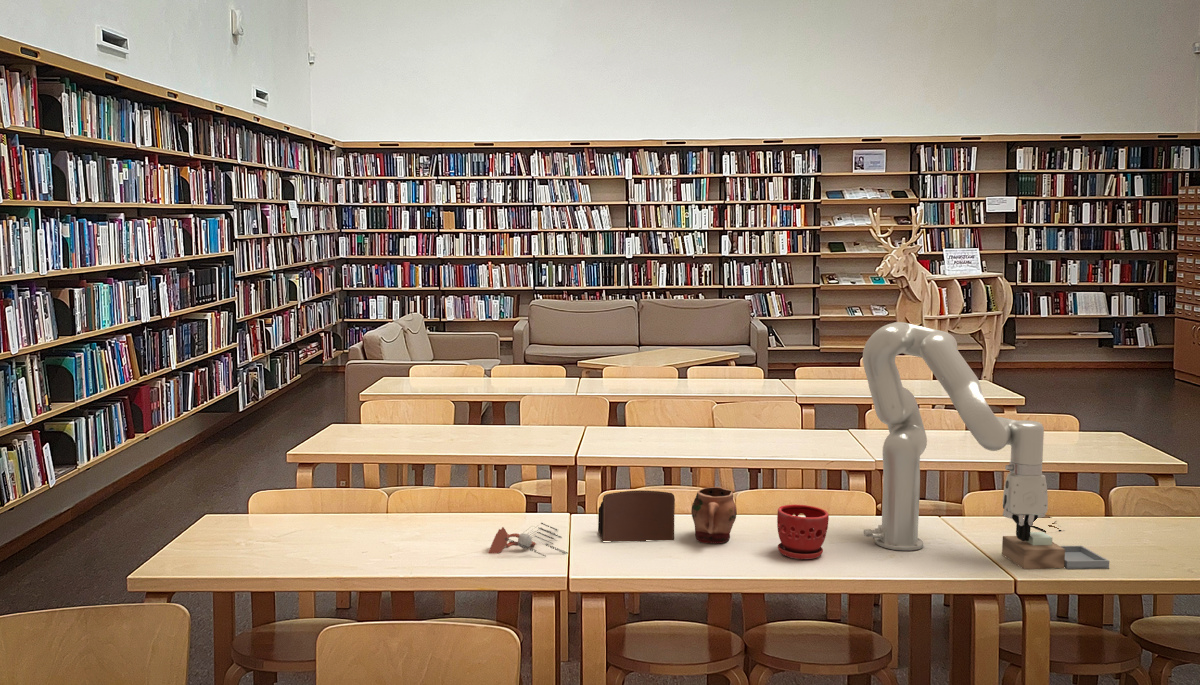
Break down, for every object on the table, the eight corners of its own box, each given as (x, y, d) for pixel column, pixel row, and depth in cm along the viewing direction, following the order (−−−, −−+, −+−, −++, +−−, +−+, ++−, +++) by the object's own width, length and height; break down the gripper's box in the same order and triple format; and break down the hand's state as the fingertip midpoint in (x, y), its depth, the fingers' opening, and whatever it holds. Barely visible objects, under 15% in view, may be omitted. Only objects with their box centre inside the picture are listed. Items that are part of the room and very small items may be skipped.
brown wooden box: (1023, 569, 258) (1024, 549, 258) (1001, 554, 270) (1002, 536, 270) (1064, 568, 259) (1065, 549, 258) (1040, 554, 271) (1041, 535, 270)
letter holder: (674, 541, 280) (675, 490, 278) (602, 543, 277) (602, 492, 276) (667, 531, 290) (668, 482, 288) (597, 532, 287) (598, 483, 286)
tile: (1033, 545, 261) (1033, 537, 261) (1023, 539, 266) (1024, 532, 266) (1052, 545, 262) (1052, 537, 262) (1042, 539, 267) (1042, 531, 266)
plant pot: (787, 564, 260) (788, 517, 259) (769, 548, 273) (770, 504, 272) (835, 561, 263) (837, 515, 262) (815, 546, 276) (816, 502, 275)
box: (1066, 569, 258) (1067, 561, 258) (1041, 553, 271) (1041, 546, 271) (1108, 568, 259) (1109, 560, 259) (1081, 553, 272) (1081, 545, 272)
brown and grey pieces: (499, 530, 262) (507, 501, 287) (486, 560, 264) (495, 529, 288) (573, 560, 264) (575, 529, 288) (559, 590, 265) (562, 557, 290)
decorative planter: (737, 553, 269) (738, 501, 268) (690, 551, 270) (691, 499, 269) (734, 531, 289) (735, 483, 288) (690, 530, 290) (691, 481, 289)
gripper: (1004, 472, 258) (1001, 544, 259) (1061, 472, 259) (1058, 543, 260) (990, 466, 265) (988, 535, 267) (1047, 465, 266) (1043, 535, 268)
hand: (1022, 539), depth 264 cm, fingers closed
